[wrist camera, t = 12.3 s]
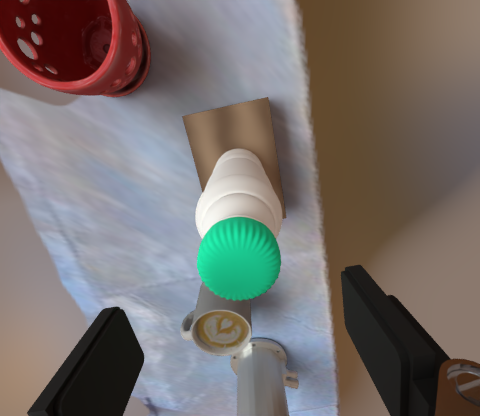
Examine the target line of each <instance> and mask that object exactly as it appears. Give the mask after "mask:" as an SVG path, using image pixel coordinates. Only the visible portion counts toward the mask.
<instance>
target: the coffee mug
mask: <svg viewBox="0 0 480 416" xmlns="http://www.w3.org/2000/svg"><path fill="white" fill-rule="evenodd" d="M191 325H192V327H191ZM190 327H191V330H190ZM180 330H181V335H182V337H183V338H184V339H185V340H187V341H190V340H193V341H194V343H195V344H196V346H197V347H198V348H200V349H201V350H202V351H204V352H206V353H209V354H211V355H216V356H228V355H233V354H236V353H238V352H240V351H242V350H243V349H244V348H245V347H246V346H247V345H248V344H249V342H250V340H251V336H252V324H251V307H250V299H248V300H245V299H244V300H242V301H240V300H235V301H233V300H231V299H229V300H227V299H226V298H221V297H220V296H219V295H215V294H214V292H213V291H210V290H209V287H207V286H205V282H203V283H202V285H201V288H200V292H199V296H198V301H197V305H196V310H194V311H192V312H191V313H190V314H188V315H187V316H186V317H185V319H184V320H183V323H182V325H181V329H180Z"/></svg>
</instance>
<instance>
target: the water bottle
mask: <svg viewBox="0 0 480 416" xmlns="http://www.w3.org/2000/svg"><path fill="white" fill-rule="evenodd" d="M196 225H197V229H198V232H199V234H200V236H201V238H202V239H203V240H202V242H201V244H200V248H199V252H198V257H197V268H198V270H199V275H200V276H201V279H202V281H203V282H205V286H207V287H209V290H210V291H213V292H214V294H215V295H219V296H220V297H221V298H226V299H227V300H229V299H231V300H233V301H235V300H240V301H242V300H244V299H245V300H248V299H250V298H253V299H254V298H255V297H256V296H260V295H261V294H262V293H266V292H267V290H268V289H270V288H271V286H272V285H273V284H274V283H275V280H276V279H277V278H278V274H279V272H280V266H281V255H280V250H279V247H278V244H277V241H276V238H277V236H278V234H279V232H280V229H281V225H282V208H281V204H280V201H279V199H278V197H277V195H276V194H275V192H274V190H273V188H272V185H271V183H270V181H269V179H268V177H267V175H266V174H265V171H264V168H263V167H262V164H261V162H260V160H259V159H258V157H257V156H256V155H255V154H253V153H252V152H250V151H248V150H245V149H232V150H229V151H227V152H226V153H224V154H223V155H222V156H221V157H220V158H219V160H218V161H217V163H216V166H215V168H214V170H213V173H212V175H211V177H210V178H209V180H208V182H207V185H206V187H205V190H204V192H203V193H202V195H201V197H200V199H199V201H198V204H197V208H196Z"/></svg>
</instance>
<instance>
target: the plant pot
mask: <svg viewBox="0 0 480 416" xmlns="http://www.w3.org/2000/svg"><path fill="white" fill-rule="evenodd" d="M33 14H35V15H36V16H37V18H38V22H37V24H34V23H33V21H32V15H33ZM16 17H18V18H19V19H20V21H21V27H18V25H17V23H16ZM31 32H34V33H35V34H36V35H37V37H38V39H39V45H37V44H35V43H34V42H33V40H32V38H31ZM19 38H20V39H22V40H23V41H24V42H25V43H26V44H27V45H28V46H29V48H30V49H31V51H32V53H33V55H34V59H31V58H29V57H27V56H26V55H25V54H24V53H23V52H22V51H21V49H20V47H19V45H18V43H17V40H18V39H19ZM0 49H1V50H2V52H3V53H4V55H5V56H6V57H7V58H8V60H9V61H10V62H11V63H12V64H13V65H14V66H15V67H16V68H17V69H18V70H19V71H20V72H22V73H23V74H24V75H25V76H27V77H28V78H30V79H31V80H33V81H35V82H36V83H38V84H40V85H42V86H45V87H48V88H50V89H53V90H56V91H60V92H64V93H70V94H76V95H103V96H108V97H120V96H125V95H127V94H130V93H132V92H133V91H135V90H136V89H137V88H138V87H139V86H140V85H141V84H142V83H143V82H144V80H145V78H146V76H147V74H148V71H149V67H150V61H151V52H150V45H149V41H148V38H147V35H146V32H145V30H144V28H143V26H142V24H141V23H140V21H139V20H138V18H137V17H136V16H135V15H134V14H133V12H132V10H131V8H130V6H129V4H128V3H127V1H126V0H24V1H23V2H20V1H19V0H0ZM45 67H47V68H49V69H50V70H51V71H53V72H54V73H51V72H50V71H48V70H47V69H46V68H45Z"/></svg>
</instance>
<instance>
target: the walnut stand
mask: <svg viewBox="0 0 480 416" xmlns="http://www.w3.org/2000/svg"><path fill="white" fill-rule="evenodd" d="M182 117H183V121H184V125H185V128H186V132H187V136H188V140H189V143H190V147H191V151H192V154H193V158H194V162H195V166H196V169H197V173H198V177H199V180H200V184H201V188H202V192H204V190H205V187H206V185H207V182H208V180H209V178H210V177H211V175H212V173H213V170H214V168H215V166H216V163H217V161H218V160H219V158H220V157H221V156H222V155H223V154H224V153H226V152H227V151H229V150H232V149H245V150H248V151H250V152H252V153H253V154H255V155H256V156H257V157H258V159H259V160H260V162H261V164H262V167H263V168H264V171H265V174H266V175H267V177H268V179H269V181H270V183H271V185H272V188H273V190H274V192H275V194H276V195H277V197H278V199H279V201H280V204H281V208H282V219H284V218H286V212H285V206H284V199H283V192H282V186H281V179H280V173H279V166H278V159H277V153H276V146H275V139H274V133H273V126H272V119H271V113H270V106H269V100H268V97H266V98H262V99H257V100H253V101H248V102H244V103H239V104H235V105H230V106H226V107H222V108H217V109H213V110H208V111H204V112H199V113H195V114H190V115H186V116H182Z"/></svg>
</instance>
